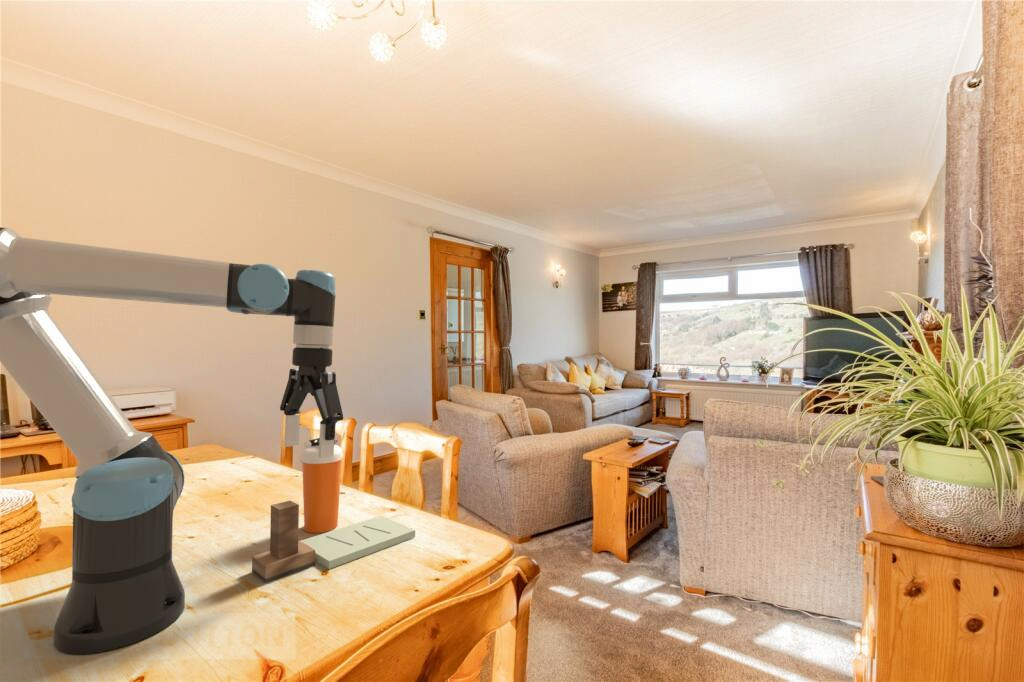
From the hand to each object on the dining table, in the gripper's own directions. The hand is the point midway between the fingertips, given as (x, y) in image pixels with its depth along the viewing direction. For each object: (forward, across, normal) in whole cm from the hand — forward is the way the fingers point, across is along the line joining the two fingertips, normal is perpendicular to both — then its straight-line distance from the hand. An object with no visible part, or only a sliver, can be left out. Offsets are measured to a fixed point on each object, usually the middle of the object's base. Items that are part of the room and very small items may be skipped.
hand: (308, 451), depth 96 cm
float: (+20, -4, +6) cm, 22 cm away
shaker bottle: (+20, +9, -9) cm, 24 cm away
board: (+20, -5, -10) cm, 23 cm away
